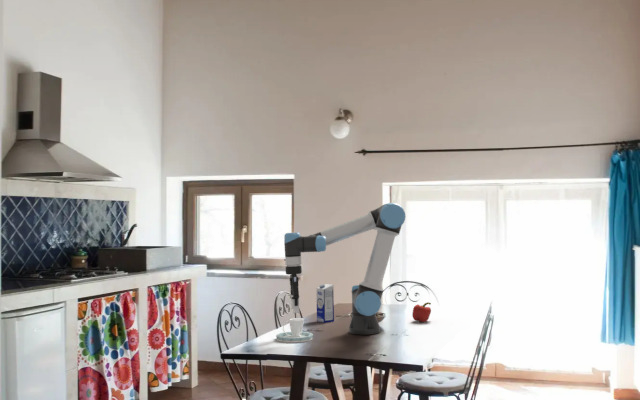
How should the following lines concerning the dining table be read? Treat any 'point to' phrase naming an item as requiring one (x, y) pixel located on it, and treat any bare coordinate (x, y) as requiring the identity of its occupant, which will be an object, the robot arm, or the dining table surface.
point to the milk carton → (325, 303)
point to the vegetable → (421, 312)
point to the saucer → (286, 338)
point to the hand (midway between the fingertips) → (295, 310)
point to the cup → (295, 326)
